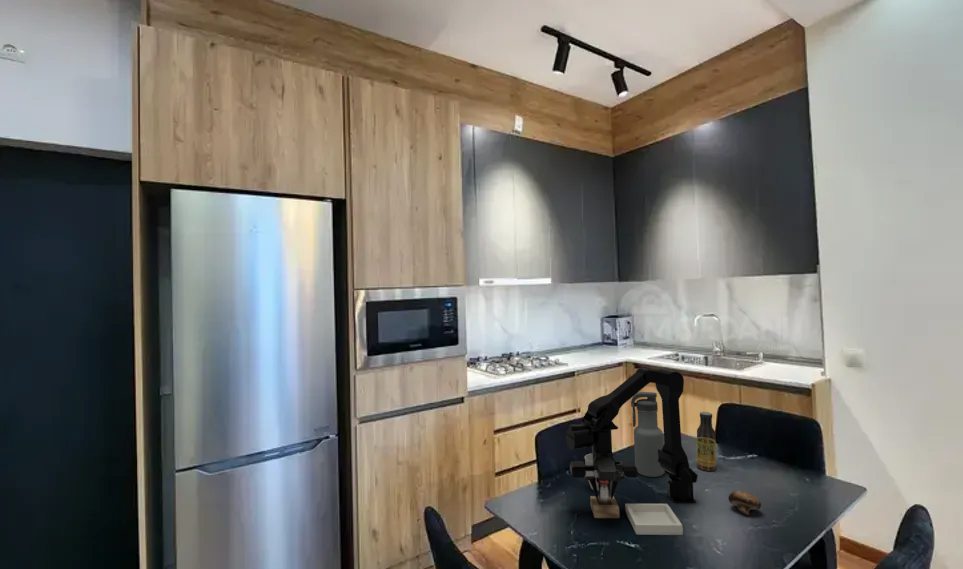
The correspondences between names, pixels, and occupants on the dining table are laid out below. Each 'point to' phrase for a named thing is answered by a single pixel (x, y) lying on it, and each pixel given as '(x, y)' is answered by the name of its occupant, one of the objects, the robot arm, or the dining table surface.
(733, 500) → the mushroom
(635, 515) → the tray
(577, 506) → the dining table surface
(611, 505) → the block
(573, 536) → the dining table surface
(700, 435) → the sauce bottle
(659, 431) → the water bottle
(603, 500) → the red capped tube
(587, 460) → the cup
